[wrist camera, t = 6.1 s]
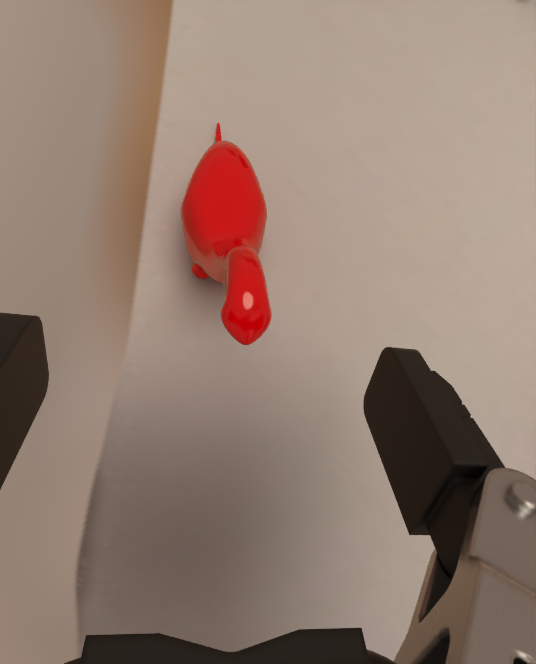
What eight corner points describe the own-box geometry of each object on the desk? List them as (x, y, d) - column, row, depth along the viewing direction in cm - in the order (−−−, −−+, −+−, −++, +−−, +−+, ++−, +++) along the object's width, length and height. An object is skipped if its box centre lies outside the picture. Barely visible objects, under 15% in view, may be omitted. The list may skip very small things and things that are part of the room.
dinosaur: (250, 129, 26) (305, -113, 14) (253, 379, 23) (324, 341, 11) (184, 122, 25) (182, -140, 13) (179, 379, 22) (170, 339, 11)
